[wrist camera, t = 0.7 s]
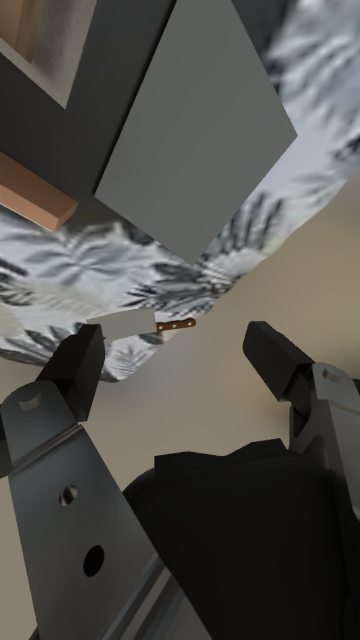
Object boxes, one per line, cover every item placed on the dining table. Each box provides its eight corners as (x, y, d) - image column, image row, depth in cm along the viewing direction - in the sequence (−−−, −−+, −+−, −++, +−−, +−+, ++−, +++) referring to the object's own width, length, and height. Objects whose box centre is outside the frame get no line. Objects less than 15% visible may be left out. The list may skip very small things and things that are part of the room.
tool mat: (95, 195, 26) (94, 196, 25) (198, -49, 16) (202, -59, 15) (191, 263, 35) (192, 265, 34) (293, 136, 25) (297, 135, 24)
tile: (-8, 163, 22) (-69, 167, 15) (-5, 147, 21) (-69, 144, 15) (73, 214, 27) (53, 233, 20) (78, 202, 26) (58, 218, 19)
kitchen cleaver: (196, 299, 40) (195, 332, 46) (195, 296, 41) (194, 329, 47) (80, 312, 37) (95, 346, 44) (81, 309, 38) (96, 343, 44)
